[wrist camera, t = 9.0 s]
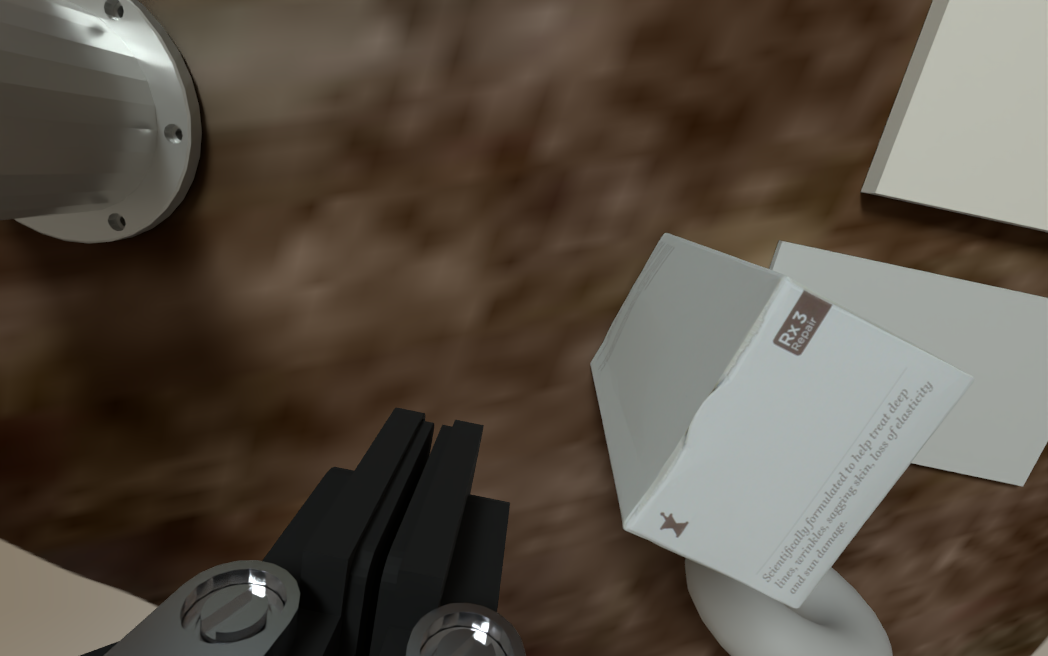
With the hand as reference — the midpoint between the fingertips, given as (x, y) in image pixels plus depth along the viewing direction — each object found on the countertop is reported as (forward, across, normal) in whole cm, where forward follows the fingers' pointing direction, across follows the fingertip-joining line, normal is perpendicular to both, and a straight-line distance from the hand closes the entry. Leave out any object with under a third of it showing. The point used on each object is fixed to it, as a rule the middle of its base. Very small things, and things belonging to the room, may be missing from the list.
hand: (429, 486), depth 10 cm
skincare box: (+19, -9, 0) cm, 21 cm away
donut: (+19, -17, +12) cm, 28 cm away
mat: (+19, -21, 0) cm, 28 cm away
